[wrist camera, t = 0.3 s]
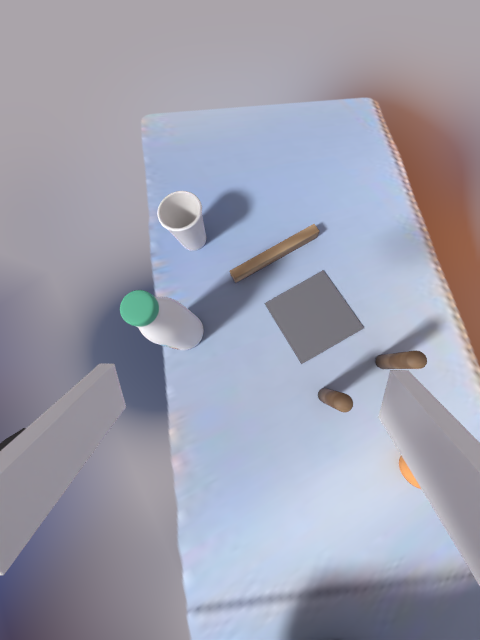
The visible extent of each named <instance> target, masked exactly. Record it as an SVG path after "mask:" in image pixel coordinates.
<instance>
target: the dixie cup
mask: <svg viewBox="0 0 480 640" xmlns="http://www.w3.org/2000/svg"><path fill="white" fill-rule="evenodd" d="M158 219H159V221H160V223H161V224H162V225H163V226H164V227H165V228H166V229H168V230H169V231H170V232H171V233H172V234H173V235H174V237H175V238H176V239H177V240H178V241H179V242H180V243H181V244H182V245H183V246H184V247H185V248H186V249H187V250H190V251H196V250H199V249H201V248H202V247H203V246H204V245H205V243H206V233H205V227H204V222H203V217H202V205H201V202H200V200H199V199H198V197H197V196H196V195H194V194H193V193H190V192H187V191H177V192H174V193H171V194H169V195H168V196H166V197H165V198H164V199H163V200H162V202H161V203H160V205H159V208H158Z"/></svg>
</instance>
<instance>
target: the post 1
mask: <svg viewBox="0 0 480 640" xmlns="http://www.w3.org/2000/svg"><path fill="white" fill-rule="evenodd" d="M318 398H319V399H320V401H322V402H323V403H325V404H327V405H329V406H331V407H333V408H335V409H337V410H339V411H341V412H348V411H350V410H351V409H352V407H353V401H352V399H351V397H350V396H349V395H347V394H344V393H341V392H337V391H334V390H330V389H327V388H323V389H321V390H320V391H319V392H318Z"/></svg>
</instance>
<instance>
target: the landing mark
mask: <svg viewBox="0 0 480 640" xmlns="http://www.w3.org/2000/svg"><path fill="white" fill-rule="evenodd" d="M265 305H266V307H267V308H268V310H269V312H270V313H271V315H272V317H273V318H274V320H275V321H276V323H277V325H278V326H279V328H280V330H281V331H282V333H283V335H284V336H285V338H286V339H287V341H288V343H289V344H290V346H291V348H292V349H293V351H294V353H295V354H296V356H297V357H298V359H299V361H300V362H301V364H302V363H304V362H306V361H308V360H309V359H311V358H313V357H315V356H316V355H318V354H320V353H322V352H323V351H325V350H327V349H328V348H330V347H332V346H334V345H335V344H337V343H339V342H341V341H342V340H344V339H346V338H348V337H349V336H351V335H353V334H355V333H356V332H358V331H360V330H361V329H363V328H364V327H363V326H362V324H361V323H360V322H359V320H358V319H357V317H356V316H355V314H354V313H353V312H352V310H351V309H350V307H349V306H348V305H347V303H346V302H345V300H344V299H343V297H342V296H341V295H340V293H339V292H338V290H337V289H336V288H335V286H334V285H333V283H332V282H331V280H330V279H329V278H328V276H327V275H326V273H325V272H324V271H321V272H319V273H318V274H316V275H314V276H312V277H311V278H309V279H307V280H305V281H303V282H302V283H300V284H298V285H296V286H295V287H293V288H291V289H289V290H287V291H286V292H284V293H282V294H280V295H279V296H277V297H275V298H273V299H272V300H270V301H268V302H266V303H265Z"/></svg>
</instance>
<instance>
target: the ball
mask: <svg viewBox="0 0 480 640" xmlns="http://www.w3.org/2000/svg"><path fill="white" fill-rule="evenodd" d="M399 467H400V470H401V473H402V475H403V476H404V477H405V479H406V480H407V481H408V482H409V483H410V484H412V485H413V486H415V487H417V488H420V489H421V487H420V486H419V484H418V482H417V481H416V479H415V477H414V476H413V474H412V472H411V471H410V469H409V467H408V466H407V464H406V462H405V461H404V459H403V457H402V456H401V457H400V459H399Z"/></svg>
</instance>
